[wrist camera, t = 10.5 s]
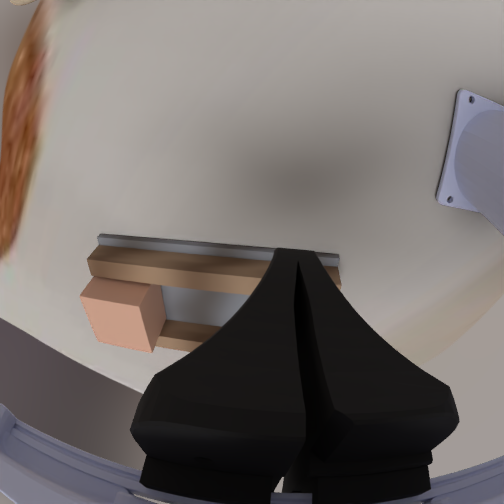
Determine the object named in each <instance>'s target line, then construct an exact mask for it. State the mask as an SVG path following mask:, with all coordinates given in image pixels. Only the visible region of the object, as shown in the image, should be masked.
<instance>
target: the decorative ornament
mask: <svg viewBox="0 0 504 504" xmlns="http://www.w3.org/2000/svg"><path fill="white" fill-rule="evenodd" d="M34 1H36V0H10V2H11V3H12V4H14V5H26V4H29V3H32V2H34Z"/></svg>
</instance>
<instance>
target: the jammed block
mask: <svg viewBox="0 0 504 504" xmlns="http://www.w3.org/2000/svg"><path fill="white" fill-rule="evenodd" d="M80 299H81V301H82V304H83V307H84V309H85V312H86V314H87V317H88V319H89V322H90V324H91V326H92V329H93V331H94V333H95V336H96V338H97V340H98V341H99V342H103V343H107V344H111V345H115V346H120V347H124V348H129V349H134V350H139V351H144V352H149V353H152V352H153V350H154V347H155V345H156V342H157V340H158V337H159V335H160V332H161V330H162V328H163V325H164V323H165V320H166V313H165V307H164V302H163V297H162V291H161V286H160V285H156V284H148V283H140V282H133V281H126V280H119V279H112V278H105V277H98V276H94V277H93V278H92V279H91V281H90V282H89V283H88V285H87V286H86V288H85V289H84V290H83V292H82V293H81V294H80Z"/></svg>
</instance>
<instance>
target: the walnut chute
mask: <svg viewBox="0 0 504 504" xmlns="http://www.w3.org/2000/svg"><path fill="white" fill-rule="evenodd" d="M97 239H98V243H99V245H98V247H97V248H96V249H95V250H94V251H93V252H92V254H91V255H90V256H89V257H88V258H87V262H88V265H89V269H90V272H91V275H92V276H98V277H105V278H112V279H119V280H126V281H133V282H140V283H148V284H156V285H160V286H161V291H162V297H163V302H164V307H165V313H166V320H165V323H164V325H163V328H162V330H161V332H160V335H159V337H158V340H157V342H156V345H155V346H158V347H163V348H169V349H175V350H181V351H187V352H192V351H193V350H194V349H196V348H197V347H198V346H199V345H201V344H202V343H203V342H205V341H206V340H207V339H209V338H210V337H211V336H212V335H213V334H215V333H216V332H217V331H218V330H219V329H220V328H221V327H222V326H223V325H224V324H225V323H226V322H227V321H228V320H229V319H230V318H231V317H232V316H233V315H234V314H235V313H236V312H237V311H238V310H239V309H240V307H241V306H242V305H243V304H244V303H245V301H246V300H247V299H248V298H249V296H250V295H251V294H252V292H253V291H254V289H255V288H256V287H257V285H258V284H259V282H260V281H261V279H262V277H263V275H264V274H265V272H266V270H267V269H268V267H269V264H270V262H271V260H272V258H273V254H274V250H275V249H271V248H260V247H248V246H237V245H226V244H214V243H202V242H191V241H179V240H167V239H155V238H143V237H131V236H119V235H107V234H100V235H99V236H98V237H97ZM315 253H316V252H315ZM316 254H317V256H318V258H319V260H320V261H321V263H322V265H323V266H324V268H325V269H326V271H327V272H328V274H329V276H330V277H331V279H332V280H333V281H334V283H335V284H336V286H337V287H338V289H339V290H340V289H341V280H340V275H339V271H338V263H339V259H340V258H339V255H338V254H327V253H316Z"/></svg>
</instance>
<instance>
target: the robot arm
mask: <svg viewBox="0 0 504 504" xmlns="http://www.w3.org/2000/svg"><path fill="white" fill-rule="evenodd" d="M470 96H471V98H472V101H471V102H469V97H470ZM449 196H451V198H450V200H449V201H447V198H448V197H449ZM436 199H437V201H438V202H439V203H440V204H441V205H445V206H450V207H455V208H460V209H465V210H470V211H475V212H479V213H482V214H483V215H484V216H485V217H486V218H487V219H488V220H489V221H490V222H491V223H492V224H493V225H494V226H495V227H496V228H497V229H498V230H499V231H500V232H501V233H502V234H503V235H504V106H502V105H500V104H497V103H495V102H493V101H491V100H489V99H486V98H484V97H482V96H479V95H477V94H475V93H472V92H470V91H467V90H463V89H461V90H459V91H458V93H457V99H456V106H455V113H454V119H453V125H452V130H451V136H450V141H449V146H448V151H447V155H446V160H445V164H444V168H443V172H442V176H441V180H440V184H439V188H438V192H437V196H436ZM458 423H459V416H458V412H457V408H456V404H455V401H454V398H453V395H452V392H451V390H450V387H449V386H448V385H446V384H444V383H443V382H441V381H439V380H438V379H436V378H435V377H433V376H431V375H430V374H428V373H427V372H425V371H423V370H422V369H420V368H419V367H418V366H416V365H415V364H414V363H412V362H411V361H410V360H408V359H407V358H405V357H404V356H403V355H402V354H400V353H399V352H398V351H397V350H395V349H394V348H393V347H392V346H391V345H390V344H388V343H387V342H386V341H385V340H384V339H383V338H382V337H381V336H379V335H378V334H377V333H376V332H375V331H374V330H373V329H372V328H371V327H370V326H369V325H368V324H367V323H366V322H365V321H364V319H363V318H362V317H361V316H360V315H359V314H358V313H357V312H356V311H355V310H354V308H353V307H352V306H351V305H350V303H349V302H348V301H347V300H346V298H345V297H344V296H343V294H342V293H341V291H340V290H339V289H338V287H337V286H336V284H335V283H334V281H333V280H332V279H331V277H330V276H329V274H328V272H327V271H326V269H325V268H324V266H323V265H322V263H321V261H320V260H319V258H318V256H317V254H316V253H315V252H314V251H309V250H298V249H286V248H277V249H275V250H274V254H273V258H272V260H271V262H270V264H269V267H268V269H267V270H266V272H265V274H264V275H263V277H262V279H261V281H260V282H259V284H258V285H257V287H256V288H255V289H254V291H253V292H252V294H251V295H250V296H249V298H248V299H247V300H246V301H245V303H244V304H243V305H242V306H241V307H240V309H239V310H238V311H237V312H236V313H235V314H234V315H233V316H232V317H231V318H230V319H229V320H228V321H227V322H226V323H225V324H224V325H223V326H222V327H221V328H220V329H219V330H218V331H217V332H216V333H215V334H213V335H212V336H211V337H210V338H209V339H207V340H206V341H205V342H203V343H202V344H201V345H199V346H198V347H197V348H196V349H194V350H193V351H192V352H190V353H189V354H187V355H186V356H185V357H183V358H181V359H180V360H178V361H177V362H175V363H173V364H172V365H170V366H168V367H167V368H165V369H164V370H162V371H160V372H158V373H157V374H155V375H154V377H153V378H152V380H151V382H150V383H149V385H148V386H147V388H146V390H145V392H144V394H143V396H142V398H141V399H140V402H139V404H138V407H137V410H136V413H135V416H134V419H133V422H132V425H131V428H130V431H131V434H132V436H133V438H134V439H135V441H136V442H137V443H138V444H139V446H140V447H141V448H142V450H143V451H144V452H145V453H146V454H147V456H146V459H145V463H144V467H143V470H142V471H140V470H137V469H134V468H130V467H127V466H124V465H121V464H118V463H115V462H112V461H109V460H106V459H103V458H101V457H98V456H95V455H93V454H90V453H87V452H85V451H82V450H80V449H78V448H75V447H73V446H70V445H68V444H66V443H64V442H61V441H59V440H57V439H55V438H53V437H51V436H49V435H46V434H45V433H42V432H41V431H38V430H36V429H35V428H33V427H31V426H29V425H27V424H25V423H23V422H22V421H20V420H18V419H16V417H15V416H14V415H13V413H12V412H11V411H10V410H8V409H7V408H6V407H5V406H4V405H3V404H1V403H0V492H2V493H3V494H4V495H5V496H7V497H8V498H9V499H10V500H12V501H13V502H14V503H15V504H157V503H154V502H151V501H148V500H145V499H142V498H139V497H136V496H134V494H136V495H140V496H143V497H147V498H150V499H154V500H158V501H161V502H165V503H170V504H421V503H422V504H504V456H501V457H499V458H496V459H494V460H491V461H488V462H485V463H482V464H480V465H477V466H474V467H471V468H467V469H464V470H461V471H458V472H454V473H451V474H447V475H443V476H439V477H436V478H431V479H430V477H429V470H428V465H429V464H431V463H432V461H433V458H432V452H431V450H432V449H433V448H435V447H436V446H437V445H439V444H440V443H441V442H442V441H444V440H445V439H446V438H447V437H448V436H449V435H450V434H451V433H452V432H453V431H454V430H455V429H456V427H457V425H458ZM282 477H284V481H283V488H282V493H275V492H274V490H275V488H276V486H277V484H278V483H279V481H280V480H281V478H282Z"/></svg>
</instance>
